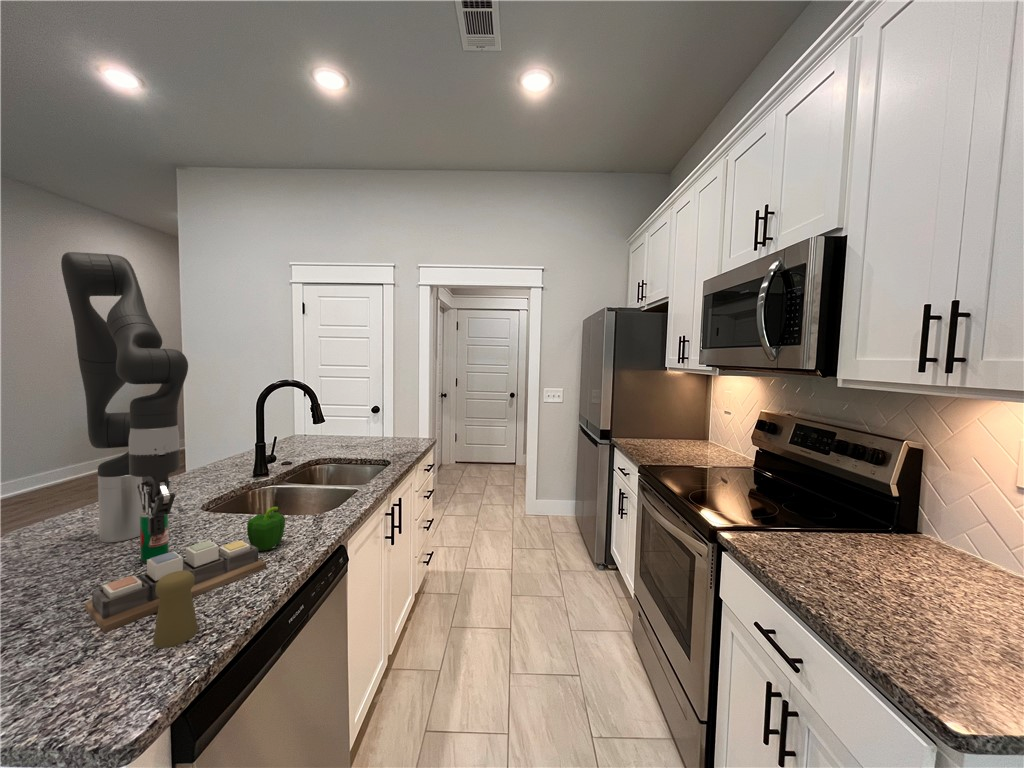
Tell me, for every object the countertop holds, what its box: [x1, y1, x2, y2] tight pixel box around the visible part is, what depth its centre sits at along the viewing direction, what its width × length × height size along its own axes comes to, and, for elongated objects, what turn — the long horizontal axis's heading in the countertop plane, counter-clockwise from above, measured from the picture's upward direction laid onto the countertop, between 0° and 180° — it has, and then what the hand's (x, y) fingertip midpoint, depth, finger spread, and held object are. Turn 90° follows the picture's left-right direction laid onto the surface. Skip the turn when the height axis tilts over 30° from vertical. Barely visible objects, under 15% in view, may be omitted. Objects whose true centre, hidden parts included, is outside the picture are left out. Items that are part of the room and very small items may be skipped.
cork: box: [152, 570, 199, 649], centre depth 69 cm, size 6×6×11 cm
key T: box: [146, 551, 184, 581], centre depth 81 cm, size 4×4×3 cm
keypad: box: [84, 540, 267, 633], centre depth 84 cm, size 12×27×4 cm, turn 148°
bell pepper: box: [246, 506, 286, 552], centre depth 103 cm, size 8×8×10 cm
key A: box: [185, 540, 220, 567], centre depth 87 cm, size 4×4×3 cm
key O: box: [102, 575, 142, 599], centre depth 76 cm, size 4×4×3 cm
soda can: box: [139, 511, 170, 564], centre depth 95 cm, size 5×5×12 cm
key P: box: [219, 540, 250, 557], centre depth 92 cm, size 4×4×3 cm
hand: (156, 534), depth 80 cm, fingers closed
